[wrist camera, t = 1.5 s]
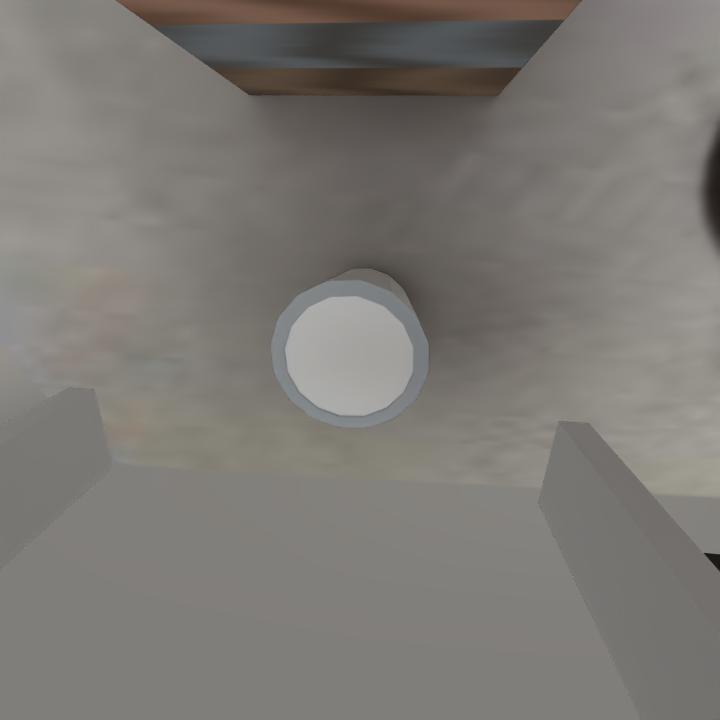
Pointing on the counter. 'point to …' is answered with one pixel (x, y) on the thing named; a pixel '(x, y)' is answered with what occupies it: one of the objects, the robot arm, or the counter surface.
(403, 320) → the grey round tub
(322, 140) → the counter surface
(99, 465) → the robot arm
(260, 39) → the brown grey striped block
